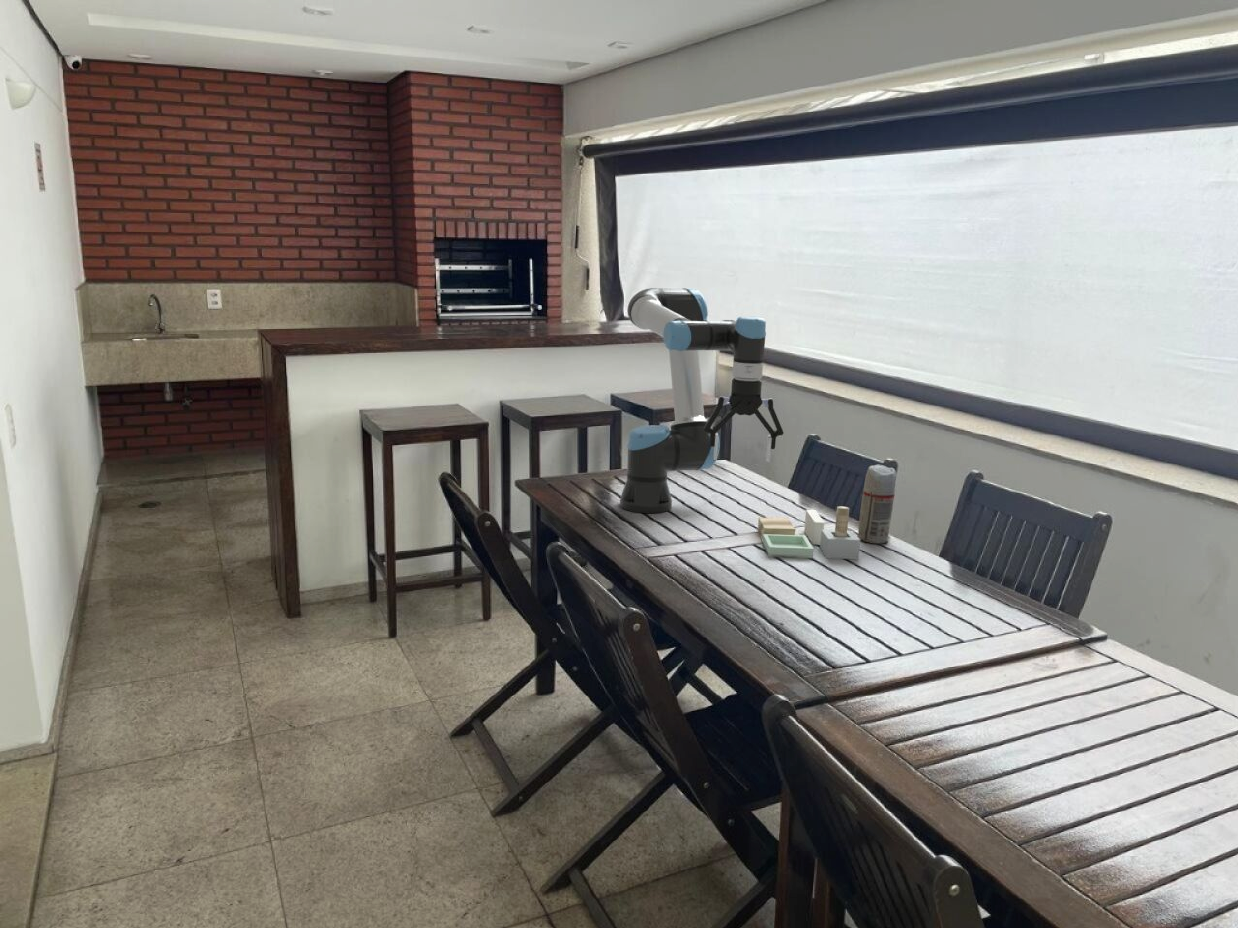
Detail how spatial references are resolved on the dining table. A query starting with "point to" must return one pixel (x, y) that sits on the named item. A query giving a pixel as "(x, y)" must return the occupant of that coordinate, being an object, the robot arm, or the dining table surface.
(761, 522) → the grooved wooden block
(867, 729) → the dining table surface
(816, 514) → the block
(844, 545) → the socket block
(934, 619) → the dining table surface
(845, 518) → the dowel
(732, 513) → the dining table surface
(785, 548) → the tray
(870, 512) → the spray can
